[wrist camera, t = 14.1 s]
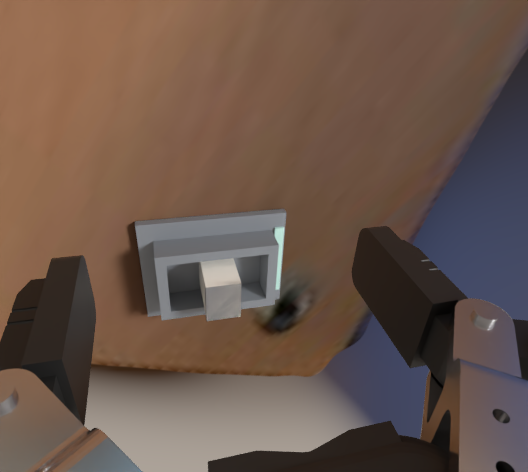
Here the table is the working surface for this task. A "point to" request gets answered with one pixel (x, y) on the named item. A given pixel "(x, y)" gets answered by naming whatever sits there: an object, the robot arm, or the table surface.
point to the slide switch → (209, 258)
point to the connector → (220, 289)
